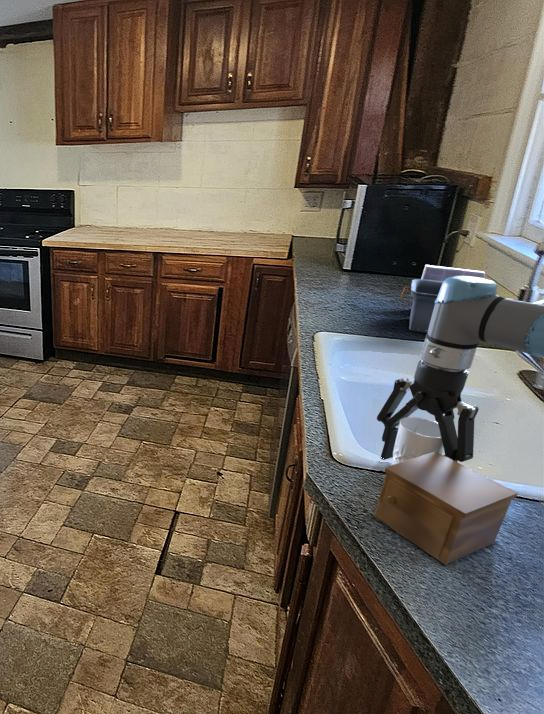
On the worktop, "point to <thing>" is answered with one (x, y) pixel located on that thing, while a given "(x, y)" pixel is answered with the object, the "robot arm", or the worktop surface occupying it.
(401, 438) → the white cup
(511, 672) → the worktop surface
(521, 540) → the worktop surface
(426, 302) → the storage bin
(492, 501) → the cupboard
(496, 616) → the worktop surface
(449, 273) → the cake pan box
